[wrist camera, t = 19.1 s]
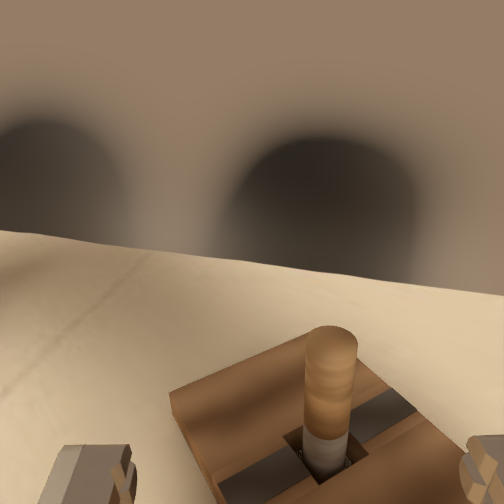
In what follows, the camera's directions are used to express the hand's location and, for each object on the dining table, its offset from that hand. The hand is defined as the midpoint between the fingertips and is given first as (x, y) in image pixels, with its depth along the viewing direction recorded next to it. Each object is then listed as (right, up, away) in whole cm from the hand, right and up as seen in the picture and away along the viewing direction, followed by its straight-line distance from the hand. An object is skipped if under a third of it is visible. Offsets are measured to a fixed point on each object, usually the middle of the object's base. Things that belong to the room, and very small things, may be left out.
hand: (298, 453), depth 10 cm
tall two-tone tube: (+5, -13, +26) cm, 30 cm away
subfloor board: (+5, -13, +26) cm, 30 cm away
